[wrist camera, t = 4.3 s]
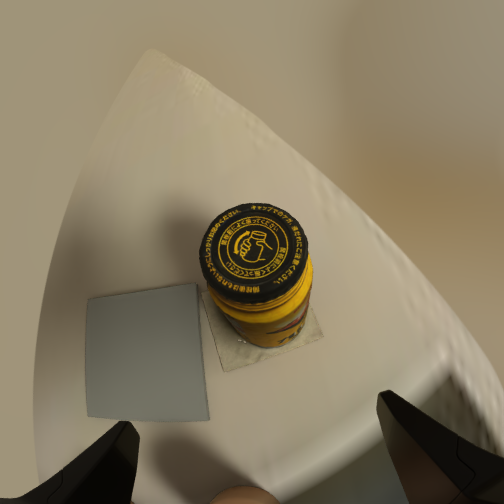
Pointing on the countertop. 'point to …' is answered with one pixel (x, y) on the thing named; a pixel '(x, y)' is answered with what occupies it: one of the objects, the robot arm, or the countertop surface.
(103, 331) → the slate mat
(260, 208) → the condiment
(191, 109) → the countertop surface
